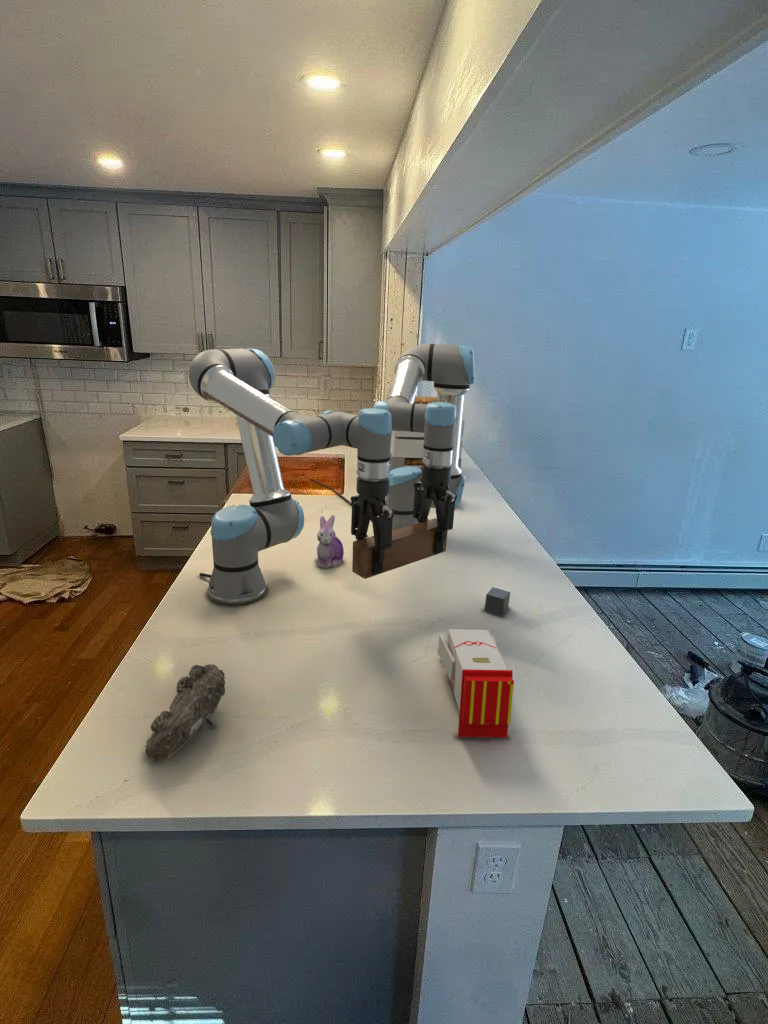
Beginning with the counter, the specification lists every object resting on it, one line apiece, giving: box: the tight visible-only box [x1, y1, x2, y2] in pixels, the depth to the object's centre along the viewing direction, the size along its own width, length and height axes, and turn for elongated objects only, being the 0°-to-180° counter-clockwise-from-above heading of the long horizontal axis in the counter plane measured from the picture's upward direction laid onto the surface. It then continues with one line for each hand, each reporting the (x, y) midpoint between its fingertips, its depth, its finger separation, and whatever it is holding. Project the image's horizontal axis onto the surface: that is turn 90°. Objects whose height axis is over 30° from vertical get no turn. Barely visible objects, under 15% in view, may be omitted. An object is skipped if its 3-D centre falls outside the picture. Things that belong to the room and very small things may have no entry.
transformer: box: [390, 396, 465, 471], centre depth 268 cm, size 34×33×41 cm
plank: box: [351, 517, 449, 580], centre depth 144 cm, size 5×28×8 cm, turn 131°
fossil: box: [144, 663, 226, 761], centre depth 105 cm, size 22×10×15 cm
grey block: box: [484, 586, 511, 617], centre depth 151 cm, size 5×5×5 cm
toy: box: [437, 628, 515, 738], centre depth 117 cm, size 12×13×30 cm
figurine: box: [316, 514, 345, 568], centre depth 173 cm, size 9×10×15 cm
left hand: (369, 568), depth 139 cm, fingers closed on plank, 5 cm apart
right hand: (430, 548), depth 152 cm, fingers closed on plank, 5 cm apart
